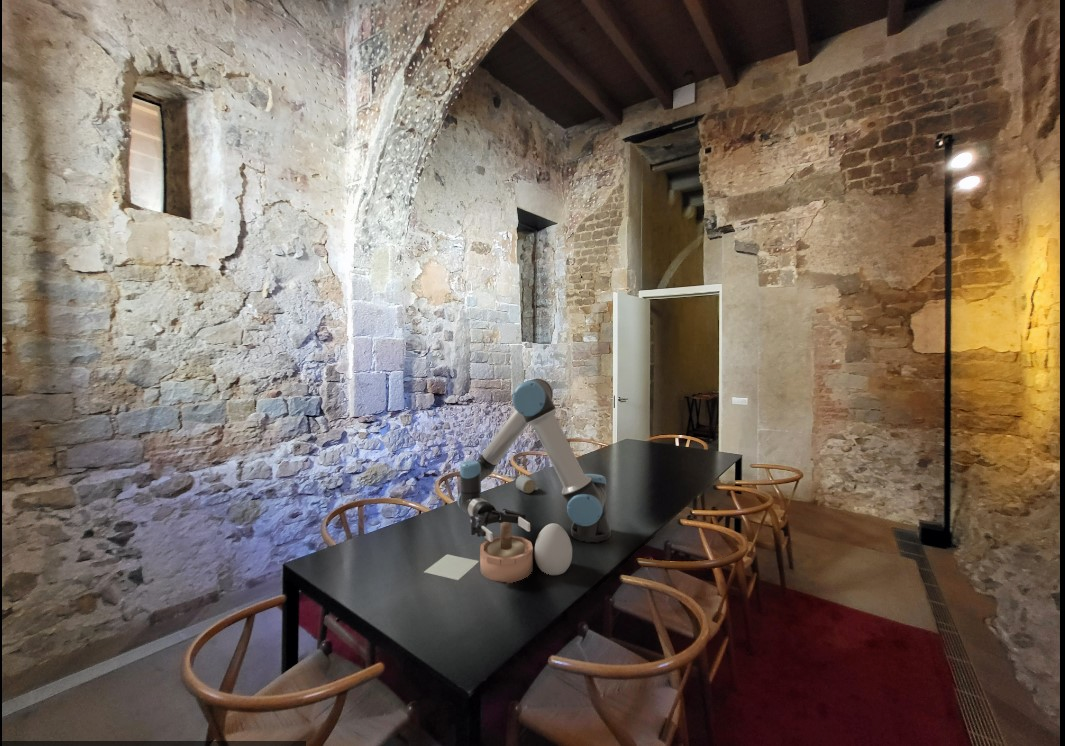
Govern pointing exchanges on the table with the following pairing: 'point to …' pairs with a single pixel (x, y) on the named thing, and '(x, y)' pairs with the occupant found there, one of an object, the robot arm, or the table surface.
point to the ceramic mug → (525, 484)
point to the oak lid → (506, 543)
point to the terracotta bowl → (506, 563)
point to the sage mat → (451, 567)
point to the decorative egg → (553, 550)
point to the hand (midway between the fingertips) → (510, 532)
